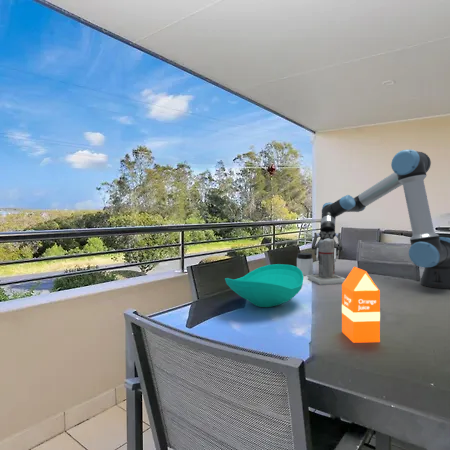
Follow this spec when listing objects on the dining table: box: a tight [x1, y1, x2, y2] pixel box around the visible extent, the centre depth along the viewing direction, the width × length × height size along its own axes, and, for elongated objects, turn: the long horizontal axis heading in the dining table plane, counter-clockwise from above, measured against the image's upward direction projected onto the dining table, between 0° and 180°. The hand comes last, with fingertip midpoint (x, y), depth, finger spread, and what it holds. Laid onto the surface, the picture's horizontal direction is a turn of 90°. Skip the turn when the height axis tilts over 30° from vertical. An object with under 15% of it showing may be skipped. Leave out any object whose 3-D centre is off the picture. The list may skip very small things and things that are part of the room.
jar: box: [296, 252, 314, 277], centre depth 199 cm, size 9×8×12 cm
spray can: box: [318, 238, 336, 278], centre depth 178 cm, size 8×8×20 cm
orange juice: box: [341, 266, 381, 344], centre depth 101 cm, size 8×9×20 cm
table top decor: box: [224, 263, 305, 308], centre depth 137 cm, size 40×28×13 cm
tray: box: [307, 274, 346, 286], centre depth 179 cm, size 14×14×2 cm
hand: (326, 259), depth 175 cm, fingers closed on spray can, 8 cm apart
